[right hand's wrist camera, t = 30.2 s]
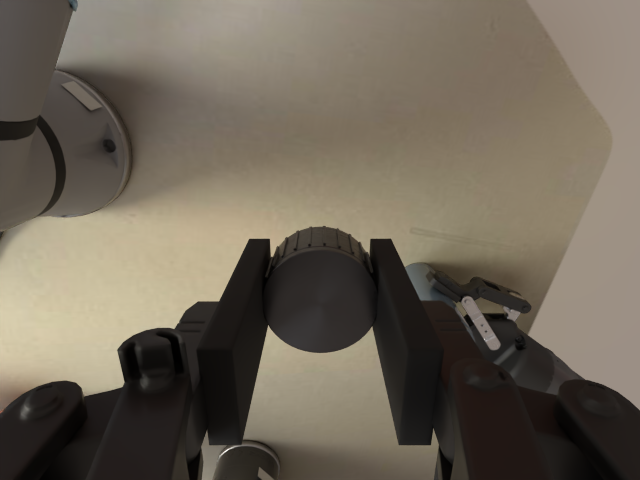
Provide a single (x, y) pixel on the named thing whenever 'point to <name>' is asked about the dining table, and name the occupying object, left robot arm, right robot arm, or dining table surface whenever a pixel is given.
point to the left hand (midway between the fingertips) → (412, 295)
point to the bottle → (430, 288)
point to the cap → (320, 290)
